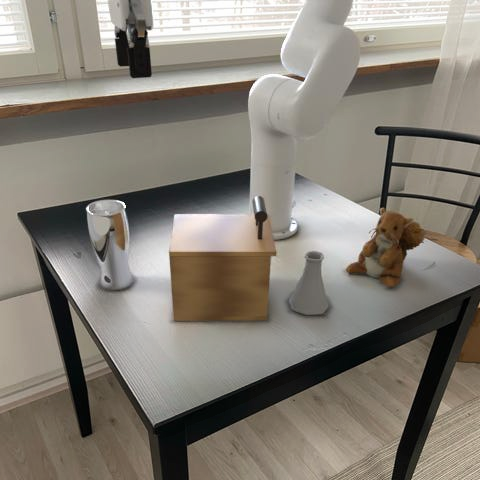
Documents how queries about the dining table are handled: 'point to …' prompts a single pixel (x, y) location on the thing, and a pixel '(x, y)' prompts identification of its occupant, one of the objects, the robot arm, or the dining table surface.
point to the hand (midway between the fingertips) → (134, 71)
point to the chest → (220, 287)
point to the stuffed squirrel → (388, 248)
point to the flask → (310, 287)
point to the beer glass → (110, 242)
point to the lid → (224, 234)
